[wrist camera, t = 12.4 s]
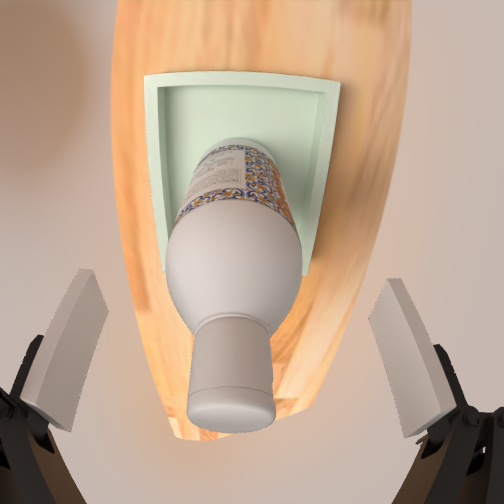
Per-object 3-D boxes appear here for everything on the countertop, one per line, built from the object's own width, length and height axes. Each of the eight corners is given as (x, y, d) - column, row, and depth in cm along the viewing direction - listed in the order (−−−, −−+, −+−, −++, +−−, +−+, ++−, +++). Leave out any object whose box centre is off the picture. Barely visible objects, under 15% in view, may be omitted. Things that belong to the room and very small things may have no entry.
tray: (155, 73, 19) (144, 75, 17) (329, 79, 20) (340, 82, 18) (168, 253, 30) (162, 272, 28) (302, 257, 31) (307, 275, 28)
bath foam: (275, 211, 27) (315, 442, 10) (198, 211, 26) (155, 441, 10) (280, 137, 22) (371, 362, 6) (194, 137, 22) (88, 360, 6)
